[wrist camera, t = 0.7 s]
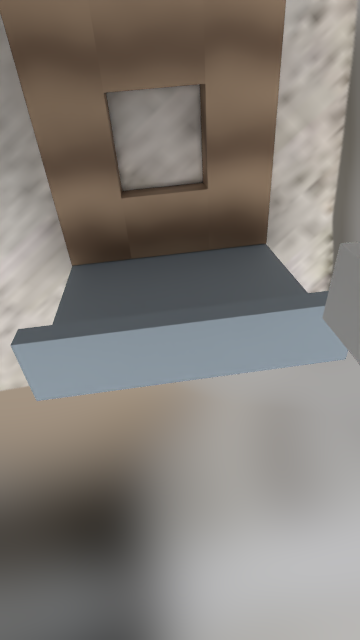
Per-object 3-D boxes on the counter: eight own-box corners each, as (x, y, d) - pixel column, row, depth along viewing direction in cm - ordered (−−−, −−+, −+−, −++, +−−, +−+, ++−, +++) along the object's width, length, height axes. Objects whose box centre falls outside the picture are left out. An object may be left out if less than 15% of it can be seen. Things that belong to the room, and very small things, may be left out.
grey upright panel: (64, 232, 33) (10, 345, 18) (264, 210, 34) (362, 301, 19) (75, 274, 35) (36, 400, 21) (261, 252, 36) (345, 359, 22)
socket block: (6, 0, 23) (-6, -9, 21) (275, -20, 24) (288, -30, 22) (75, 255, 34) (72, 265, 32) (258, 234, 35) (266, 243, 33)
